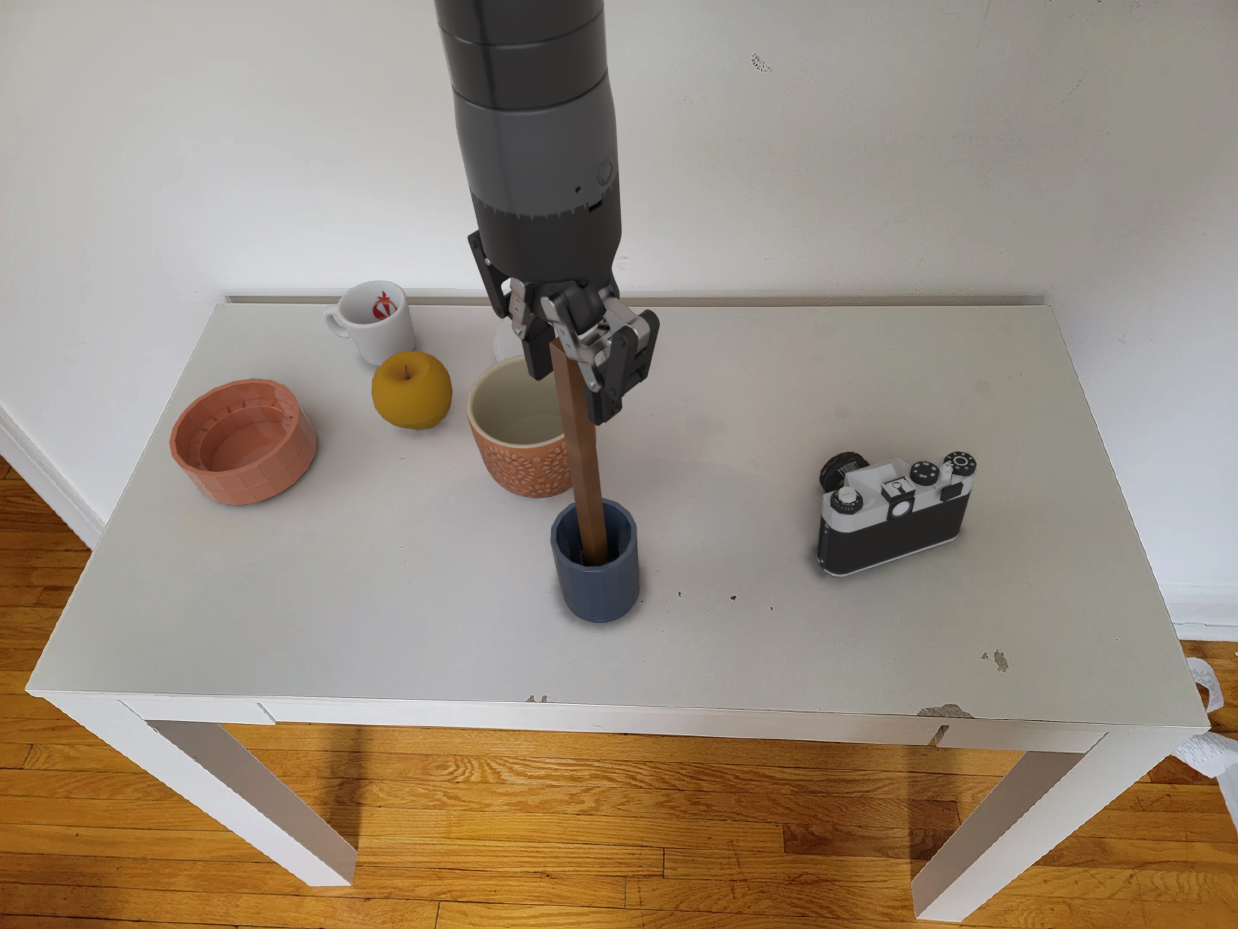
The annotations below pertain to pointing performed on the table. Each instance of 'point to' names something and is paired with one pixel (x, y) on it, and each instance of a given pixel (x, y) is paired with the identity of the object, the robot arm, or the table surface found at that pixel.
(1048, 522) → the table surface
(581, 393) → the stick
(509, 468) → the planter
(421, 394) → the apple
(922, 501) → the camera
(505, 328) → the white thick round disc
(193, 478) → the bowl
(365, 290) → the cup
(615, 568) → the crock
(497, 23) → the robot arm
